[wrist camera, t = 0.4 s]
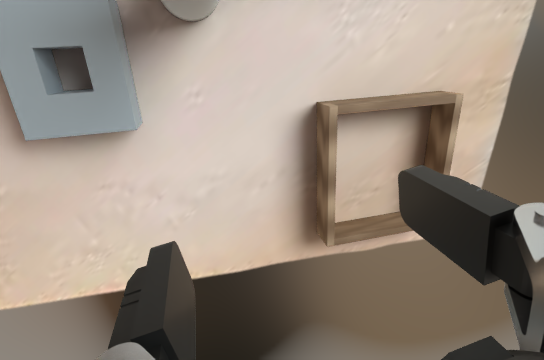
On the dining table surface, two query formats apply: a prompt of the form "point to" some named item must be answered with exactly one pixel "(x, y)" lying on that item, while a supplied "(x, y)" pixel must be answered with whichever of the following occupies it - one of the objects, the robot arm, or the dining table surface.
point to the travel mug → (190, 8)
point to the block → (44, 75)
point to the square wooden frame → (332, 233)
